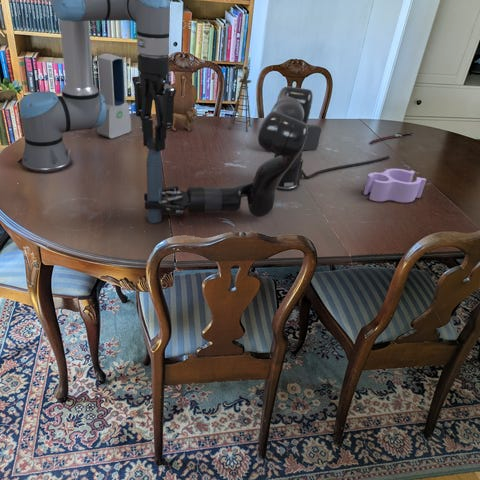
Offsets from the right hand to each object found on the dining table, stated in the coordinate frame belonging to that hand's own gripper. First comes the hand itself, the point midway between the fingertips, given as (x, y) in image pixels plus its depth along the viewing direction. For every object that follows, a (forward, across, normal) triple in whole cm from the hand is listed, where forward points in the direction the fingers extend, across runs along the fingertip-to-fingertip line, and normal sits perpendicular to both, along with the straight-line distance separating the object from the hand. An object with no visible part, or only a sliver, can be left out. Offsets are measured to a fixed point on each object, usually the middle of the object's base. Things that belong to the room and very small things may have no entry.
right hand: (144, 201), depth 132 cm
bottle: (-3, 0, +6) cm, 7 cm away
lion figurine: (-18, -75, +6) cm, 77 cm away
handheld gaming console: (-61, -52, +6) cm, 81 cm away
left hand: (-3, 0, -16) cm, 16 cm away
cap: (-3, 0, -18) cm, 18 cm away
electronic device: (+9, -69, +6) cm, 70 cm away
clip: (-85, -12, +6) cm, 87 cm away
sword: (-114, -66, +6) cm, 131 cm away
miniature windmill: (-45, -78, +6) cm, 90 cm away
